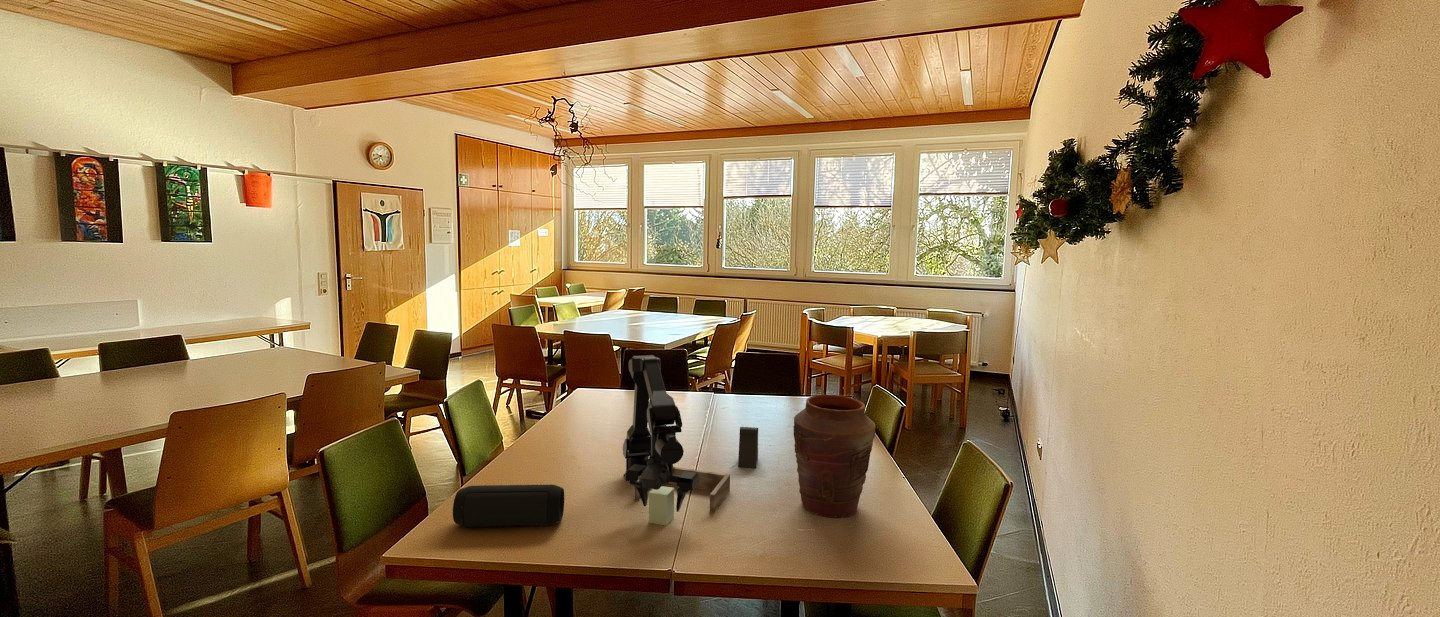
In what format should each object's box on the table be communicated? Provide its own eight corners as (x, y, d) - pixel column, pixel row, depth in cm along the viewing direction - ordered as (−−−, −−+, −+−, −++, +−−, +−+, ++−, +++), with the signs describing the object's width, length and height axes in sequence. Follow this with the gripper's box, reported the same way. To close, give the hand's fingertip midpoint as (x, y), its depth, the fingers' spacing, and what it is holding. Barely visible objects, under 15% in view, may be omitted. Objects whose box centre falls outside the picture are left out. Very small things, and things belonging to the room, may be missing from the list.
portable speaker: (565, 514, 157) (564, 478, 156) (558, 532, 147) (558, 493, 146) (465, 516, 155) (464, 479, 154) (451, 535, 145) (450, 495, 144)
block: (648, 522, 153) (648, 492, 152) (656, 514, 158) (656, 485, 157) (666, 525, 152) (666, 495, 151) (673, 517, 157) (674, 487, 156)
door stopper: (756, 468, 193) (757, 432, 191) (737, 467, 193) (738, 431, 192) (758, 458, 201) (759, 424, 200) (740, 457, 202) (741, 423, 201)
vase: (866, 532, 151) (872, 416, 147) (781, 516, 158) (785, 406, 155) (875, 497, 172) (880, 396, 169) (800, 485, 179) (803, 388, 176)
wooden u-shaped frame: (634, 500, 166) (634, 482, 166) (656, 480, 181) (656, 464, 180) (713, 512, 160) (714, 494, 159) (729, 491, 174) (730, 474, 174)
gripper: (615, 456, 148) (614, 516, 150) (685, 465, 143) (684, 528, 144) (634, 442, 159) (633, 498, 160) (700, 451, 153) (699, 509, 155)
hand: (661, 508), depth 155 cm, fingers open, 9 cm apart
